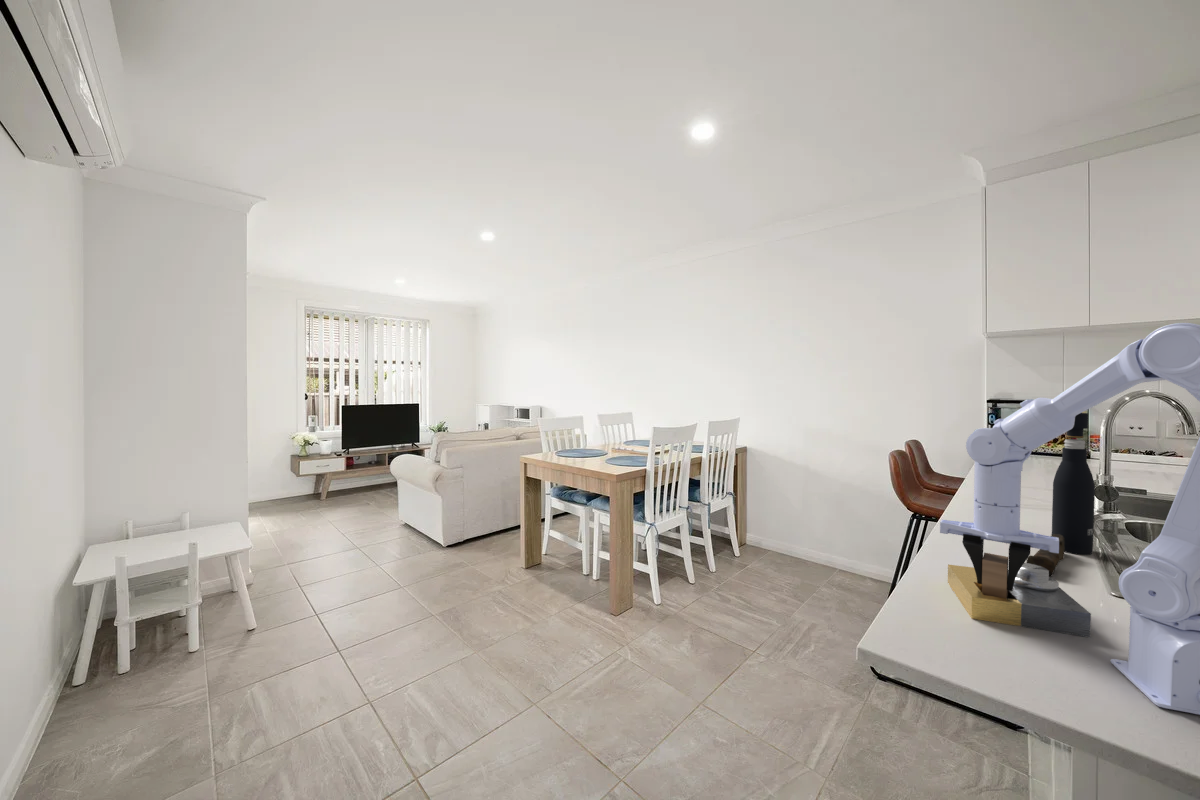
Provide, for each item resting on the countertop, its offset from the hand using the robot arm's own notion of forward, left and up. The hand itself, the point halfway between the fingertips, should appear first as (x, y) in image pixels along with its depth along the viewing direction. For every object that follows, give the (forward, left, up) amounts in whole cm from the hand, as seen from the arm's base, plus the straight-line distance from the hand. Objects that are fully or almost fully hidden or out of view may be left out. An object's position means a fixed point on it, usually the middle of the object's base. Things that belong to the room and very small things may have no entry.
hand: (994, 585), depth 76 cm
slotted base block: (+3, -3, -4) cm, 6 cm away
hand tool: (+29, -17, -5) cm, 34 cm away
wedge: (0, 0, -3) cm, 3 cm away
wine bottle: (+40, -25, -5) cm, 47 cm away
